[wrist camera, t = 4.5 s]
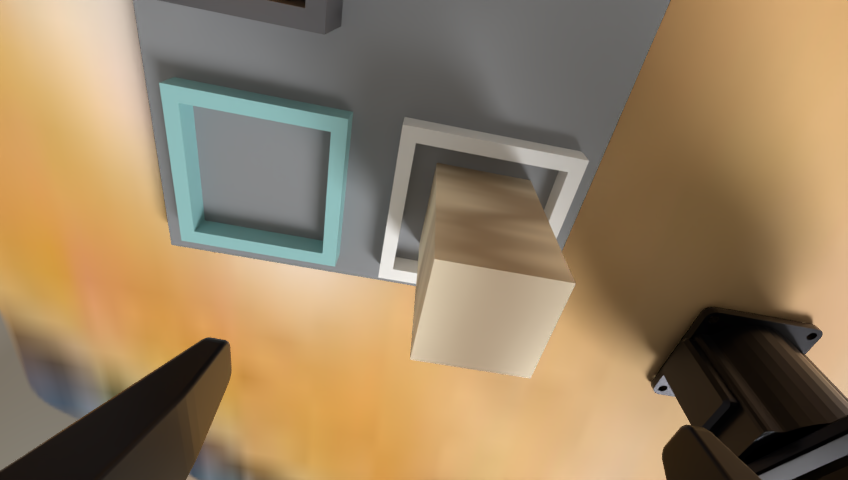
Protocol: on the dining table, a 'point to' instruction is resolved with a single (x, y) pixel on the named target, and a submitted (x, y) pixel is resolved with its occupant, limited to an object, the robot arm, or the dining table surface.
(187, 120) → the grey shape sorting board
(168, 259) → the dining table surface
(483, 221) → the block
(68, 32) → the dining table surface
